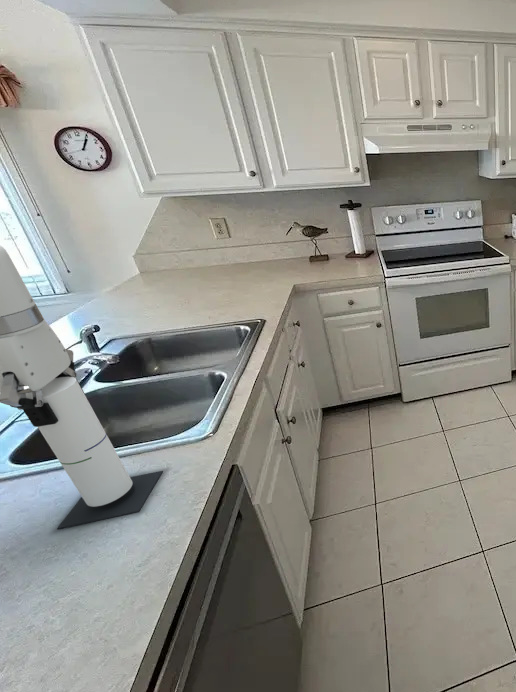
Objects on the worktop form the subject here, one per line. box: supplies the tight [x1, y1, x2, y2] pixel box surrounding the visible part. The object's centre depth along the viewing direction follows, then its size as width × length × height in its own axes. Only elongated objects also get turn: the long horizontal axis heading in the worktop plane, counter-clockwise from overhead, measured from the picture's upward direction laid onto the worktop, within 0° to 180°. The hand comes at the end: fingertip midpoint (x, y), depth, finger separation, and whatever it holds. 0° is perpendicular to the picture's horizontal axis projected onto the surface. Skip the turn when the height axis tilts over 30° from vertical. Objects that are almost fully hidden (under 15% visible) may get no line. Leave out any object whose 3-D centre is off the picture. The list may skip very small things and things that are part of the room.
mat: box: [56, 470, 164, 530], centre depth 83 cm, size 13×11×1 cm
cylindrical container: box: [26, 377, 133, 507], centre depth 77 cm, size 7×7×25 cm
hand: (61, 410), depth 74 cm, fingers closed on cylindrical container, 7 cm apart
